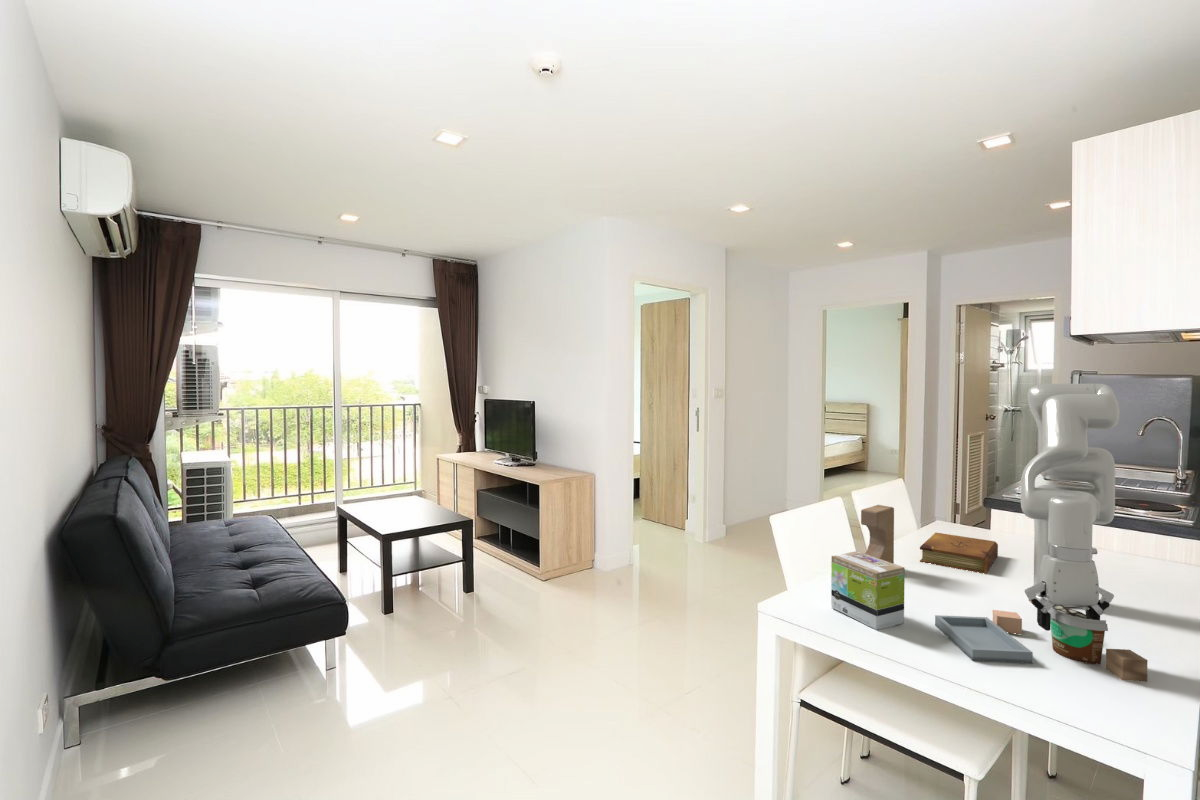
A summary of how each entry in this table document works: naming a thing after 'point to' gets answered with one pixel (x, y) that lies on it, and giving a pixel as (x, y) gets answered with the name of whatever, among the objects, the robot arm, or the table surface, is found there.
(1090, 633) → the food container
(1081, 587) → the robot arm
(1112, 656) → the walnut cube
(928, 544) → the diary
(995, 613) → the terracotta block
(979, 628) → the tray
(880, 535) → the decorative block
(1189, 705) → the table surface
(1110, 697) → the table surface
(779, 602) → the table surface
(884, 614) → the tea box
